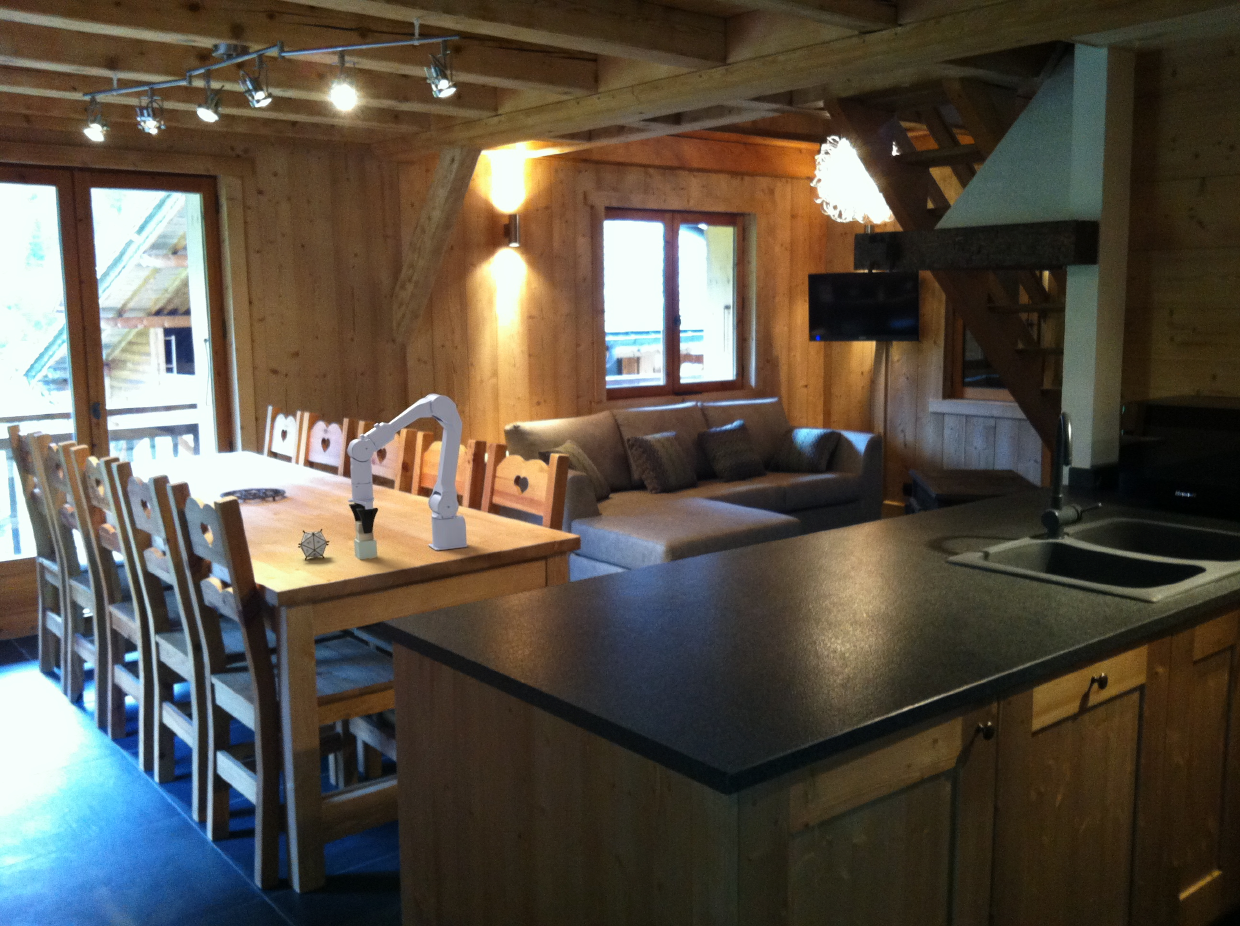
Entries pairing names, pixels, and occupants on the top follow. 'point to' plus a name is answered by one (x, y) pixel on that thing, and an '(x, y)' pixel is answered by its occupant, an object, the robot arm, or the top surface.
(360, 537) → the birch block
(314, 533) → the game die
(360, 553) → the base block
